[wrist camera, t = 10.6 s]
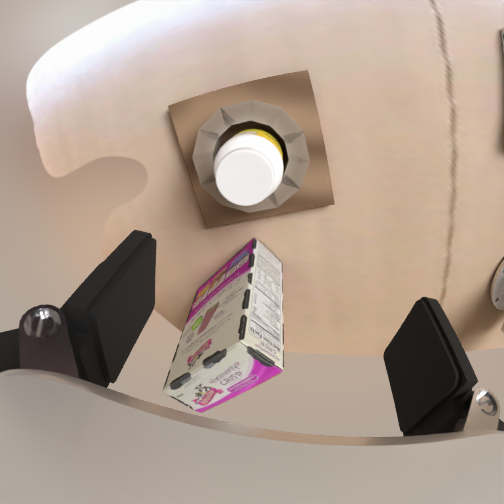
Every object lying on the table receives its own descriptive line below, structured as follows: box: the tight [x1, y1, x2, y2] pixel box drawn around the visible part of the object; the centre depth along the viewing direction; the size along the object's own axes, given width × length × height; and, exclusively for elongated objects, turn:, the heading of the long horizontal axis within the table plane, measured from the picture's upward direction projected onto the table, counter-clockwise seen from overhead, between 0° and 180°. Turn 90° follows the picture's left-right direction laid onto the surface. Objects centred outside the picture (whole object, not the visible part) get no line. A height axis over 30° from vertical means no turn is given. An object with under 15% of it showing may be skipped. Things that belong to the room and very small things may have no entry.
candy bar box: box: [162, 238, 284, 413], centre depth 30 cm, size 11×5×16 cm, turn 137°
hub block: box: [168, 70, 334, 228], centre depth 27 cm, size 14×14×4 cm
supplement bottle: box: [214, 128, 284, 206], centre depth 24 cm, size 5×5×10 cm
